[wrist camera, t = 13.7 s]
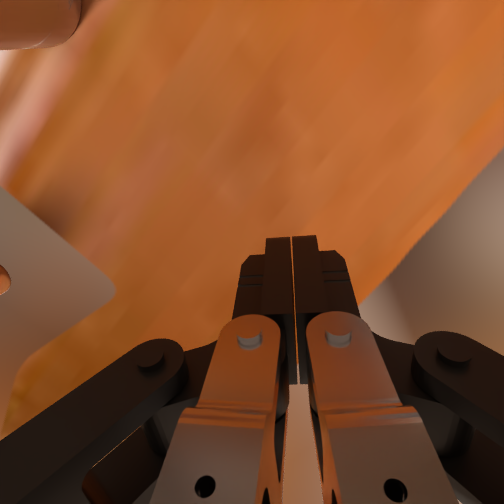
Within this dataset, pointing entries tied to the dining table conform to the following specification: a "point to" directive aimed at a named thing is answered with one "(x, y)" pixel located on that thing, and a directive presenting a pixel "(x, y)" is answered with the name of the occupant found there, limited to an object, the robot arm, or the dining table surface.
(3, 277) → the beer glass
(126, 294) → the dining table surface
